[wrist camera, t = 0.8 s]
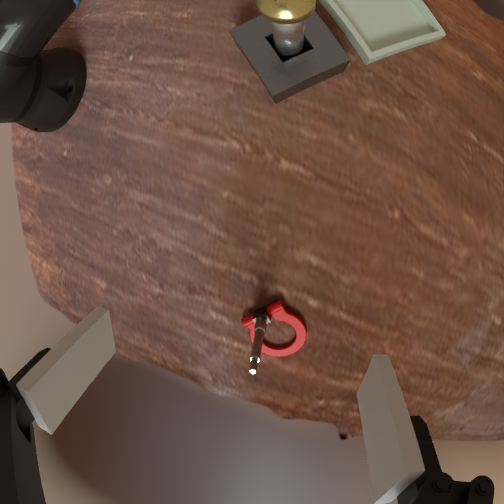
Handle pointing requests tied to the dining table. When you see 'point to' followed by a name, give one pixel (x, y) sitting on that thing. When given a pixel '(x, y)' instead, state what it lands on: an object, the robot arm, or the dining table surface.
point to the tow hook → (258, 330)
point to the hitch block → (298, 68)
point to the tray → (384, 25)
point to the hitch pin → (287, 24)
